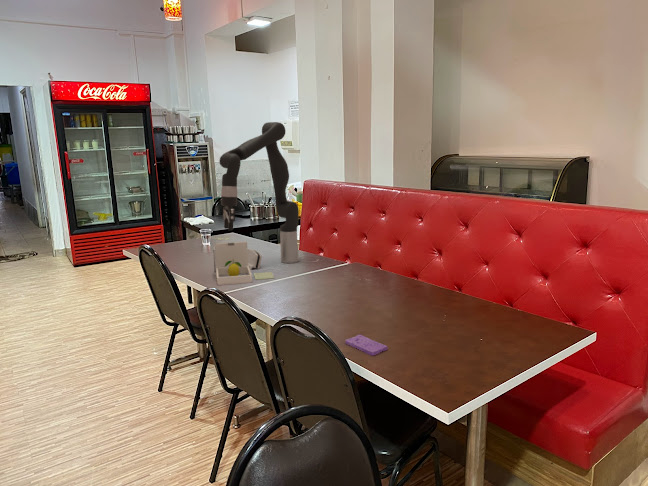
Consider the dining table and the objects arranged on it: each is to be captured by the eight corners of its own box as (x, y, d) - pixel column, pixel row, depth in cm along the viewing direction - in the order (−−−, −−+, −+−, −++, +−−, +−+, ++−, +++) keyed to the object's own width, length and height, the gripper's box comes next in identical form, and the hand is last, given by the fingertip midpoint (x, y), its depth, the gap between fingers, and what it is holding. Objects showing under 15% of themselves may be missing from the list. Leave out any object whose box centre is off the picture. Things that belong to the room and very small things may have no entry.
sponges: (359, 339, 164) (359, 334, 163) (388, 351, 154) (388, 345, 154) (344, 345, 159) (344, 339, 159) (372, 357, 150) (372, 351, 149)
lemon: (225, 280, 234) (224, 259, 232) (229, 276, 240) (228, 257, 238) (238, 280, 234) (237, 260, 232) (242, 277, 239) (241, 257, 237)
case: (248, 271, 250) (246, 241, 246) (252, 282, 230) (250, 250, 227) (214, 274, 246) (212, 243, 243) (215, 285, 226) (213, 252, 223)
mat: (271, 272, 246) (271, 271, 246) (274, 278, 236) (274, 277, 236) (253, 274, 244) (253, 273, 244) (255, 280, 234) (255, 279, 234)
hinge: (236, 264, 265) (241, 246, 266) (244, 265, 268) (249, 248, 268) (250, 270, 252) (256, 251, 252) (258, 271, 255) (263, 253, 255)
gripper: (240, 196, 230) (239, 231, 232) (233, 195, 242) (232, 227, 245) (224, 196, 226) (224, 231, 229) (218, 194, 239) (217, 227, 241)
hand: (228, 229), depth 237 cm, fingers open, 8 cm apart
